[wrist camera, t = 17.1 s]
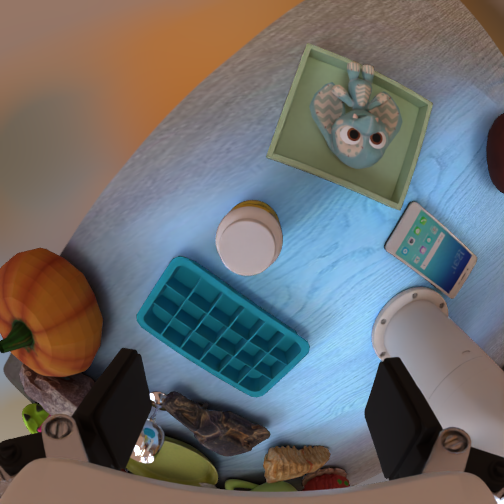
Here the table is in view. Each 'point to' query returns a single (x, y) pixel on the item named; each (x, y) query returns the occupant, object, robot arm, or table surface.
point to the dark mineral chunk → (215, 426)
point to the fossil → (293, 462)
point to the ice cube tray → (220, 328)
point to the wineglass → (150, 434)
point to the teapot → (260, 486)
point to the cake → (325, 480)
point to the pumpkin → (48, 314)
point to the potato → (496, 153)
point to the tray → (308, 133)
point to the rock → (56, 390)
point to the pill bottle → (249, 238)
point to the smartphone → (431, 250)
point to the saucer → (177, 465)
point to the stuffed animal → (356, 118)
